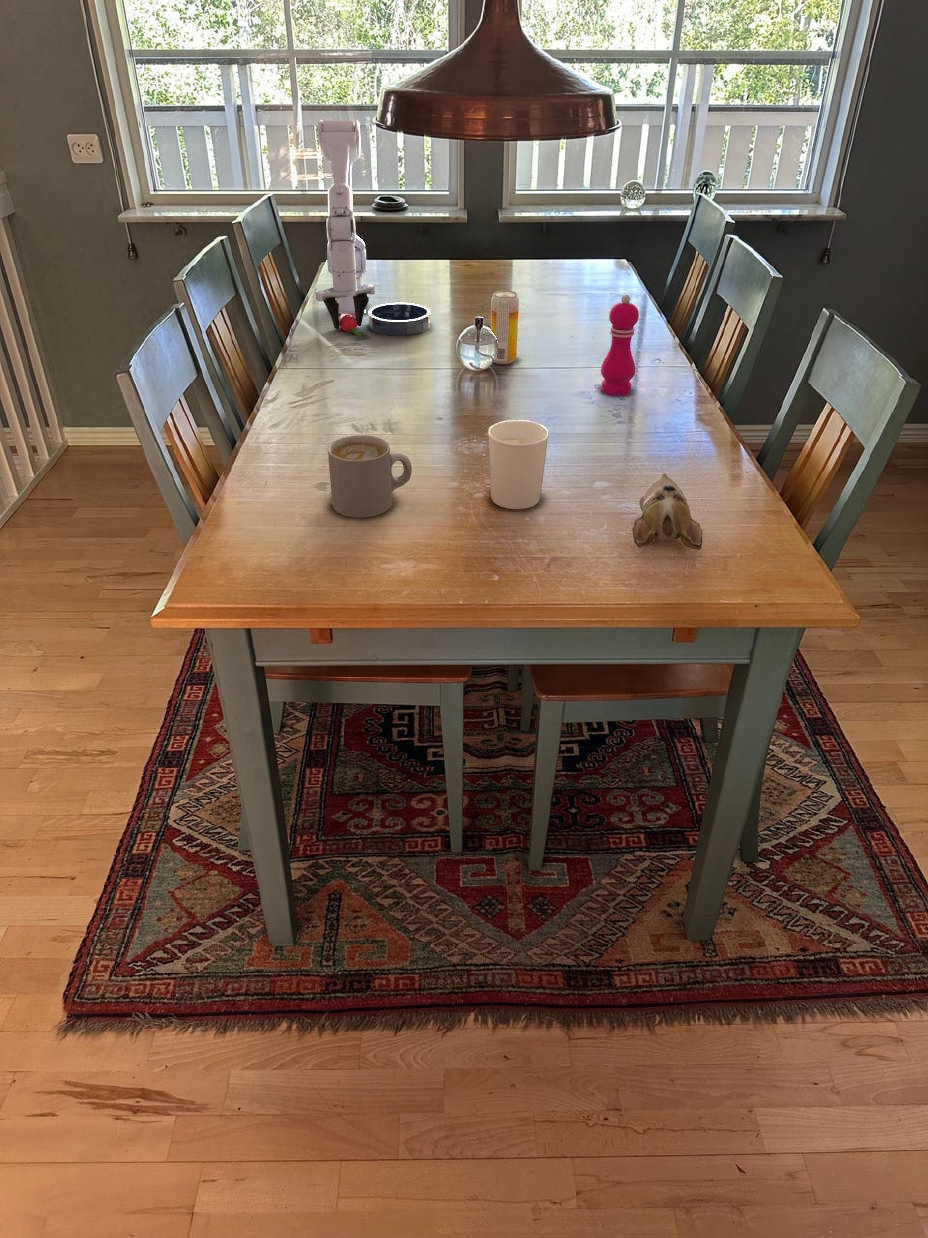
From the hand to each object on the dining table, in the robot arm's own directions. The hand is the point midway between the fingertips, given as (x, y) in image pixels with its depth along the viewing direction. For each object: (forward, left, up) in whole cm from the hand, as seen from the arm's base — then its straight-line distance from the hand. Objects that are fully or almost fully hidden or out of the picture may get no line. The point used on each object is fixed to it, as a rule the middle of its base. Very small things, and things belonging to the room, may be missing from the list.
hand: (347, 326), depth 222 cm
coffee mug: (+91, +2, -1) cm, 91 cm away
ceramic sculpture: (+107, +47, -1) cm, 117 cm away
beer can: (+25, +35, -1) cm, 43 cm away
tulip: (+2, +1, -1) cm, 3 cm away
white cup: (+92, +26, -1) cm, 96 cm away
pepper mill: (+46, +56, -1) cm, 73 cm away
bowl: (-1, +13, -1) cm, 13 cm away
